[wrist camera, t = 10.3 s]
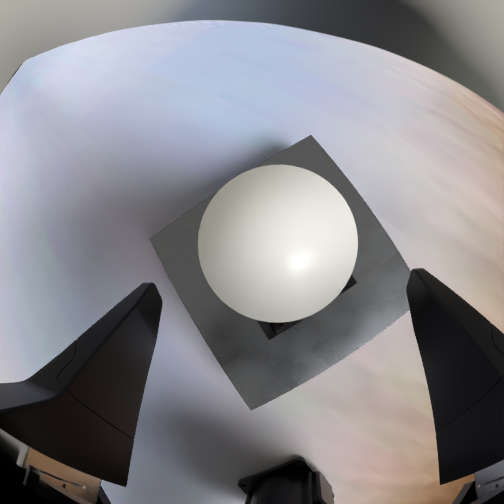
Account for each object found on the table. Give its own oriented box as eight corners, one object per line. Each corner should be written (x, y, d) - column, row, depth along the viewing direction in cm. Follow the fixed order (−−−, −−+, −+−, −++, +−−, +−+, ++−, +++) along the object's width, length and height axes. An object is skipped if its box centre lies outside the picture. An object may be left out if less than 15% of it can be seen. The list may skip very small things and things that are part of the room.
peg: (282, 316, 20) (265, 355, 7) (244, 270, 21) (169, 232, 8) (328, 277, 20) (388, 248, 7) (290, 232, 20) (283, 138, 8)
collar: (258, 390, 19) (251, 410, 15) (173, 248, 22) (149, 238, 18) (402, 296, 18) (424, 296, 15) (308, 161, 21) (311, 135, 17)
